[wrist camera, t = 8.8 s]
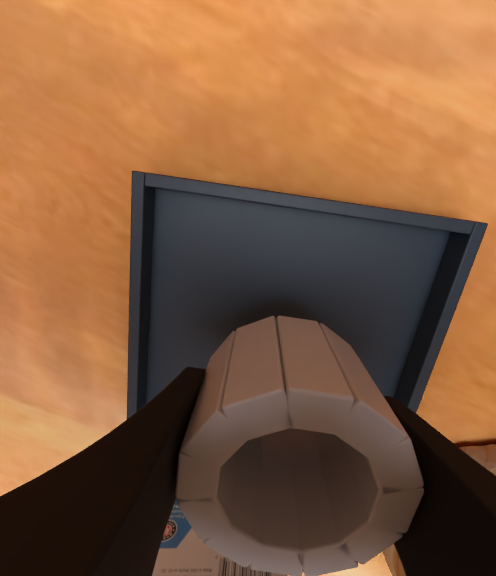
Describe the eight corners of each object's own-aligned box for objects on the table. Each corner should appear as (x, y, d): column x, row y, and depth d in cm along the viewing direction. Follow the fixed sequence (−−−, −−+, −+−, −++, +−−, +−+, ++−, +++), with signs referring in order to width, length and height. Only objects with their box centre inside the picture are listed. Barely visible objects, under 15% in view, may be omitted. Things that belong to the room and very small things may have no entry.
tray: (138, 428, 16) (125, 452, 15) (147, 174, 12) (131, 170, 11) (374, 463, 16) (386, 491, 15) (460, 220, 12) (489, 223, 11)
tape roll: (200, 437, 11) (168, 559, 7) (215, 305, 10) (185, 373, 6) (340, 457, 11) (382, 591, 7) (379, 329, 10) (459, 413, 6)
